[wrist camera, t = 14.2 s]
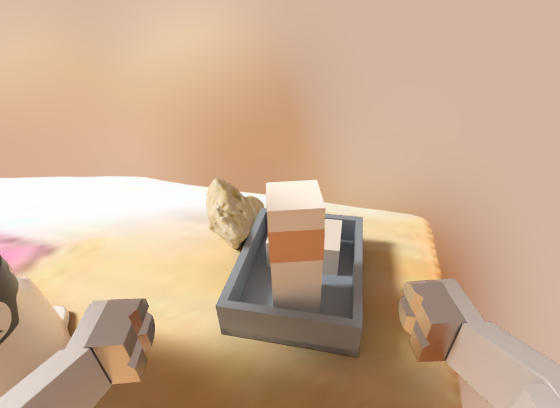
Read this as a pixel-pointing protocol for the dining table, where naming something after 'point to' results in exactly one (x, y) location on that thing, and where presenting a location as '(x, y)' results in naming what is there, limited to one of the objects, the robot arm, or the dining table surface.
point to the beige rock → (231, 212)
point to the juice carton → (296, 244)
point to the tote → (290, 323)
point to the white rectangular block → (326, 247)
